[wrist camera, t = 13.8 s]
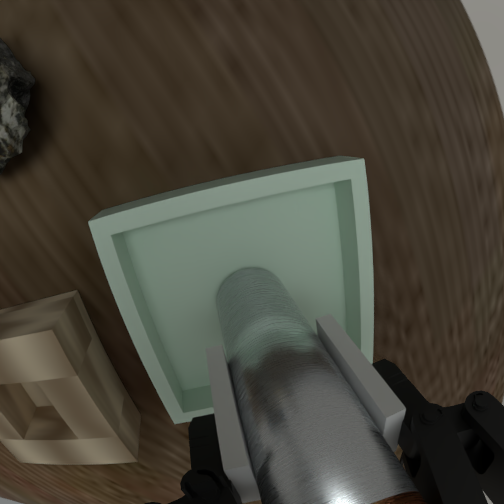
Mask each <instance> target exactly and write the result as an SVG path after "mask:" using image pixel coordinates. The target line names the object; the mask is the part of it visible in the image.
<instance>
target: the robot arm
mask: <svg viewBox="0 0 504 504" xmlns="http://www.w3.org/2000/svg"><path fill="white" fill-rule="evenodd" d="M316 327H317V336H318V338H319V339H320V341H321V342H322V344H323V345H324V347H325V348H326V350H327V351H328V353H329V354H330V356H331V357H332V359H333V360H334V362H335V363H336V365H337V366H338V368H339V369H340V371H341V372H342V374H343V376H344V377H345V379H346V380H347V382H348V383H349V385H350V386H351V388H352V389H353V391H354V392H355V394H356V395H357V397H358V398H359V400H360V401H361V403H362V405H363V406H364V408H365V409H366V411H367V412H368V414H369V415H370V417H371V418H372V420H373V421H374V423H375V424H376V426H377V428H378V429H379V431H380V432H381V434H382V435H383V437H384V438H385V440H386V441H387V443H388V444H389V446H390V448H391V449H392V451H393V452H395V451H396V449H397V445H398V444H399V446H400V447H401V449H402V450H403V452H402V455H401V458H400V463H401V465H403V463H404V466H405V469H406V472H407V474H408V475H409V477H410V479H411V480H412V482H413V483H414V485H415V486H416V488H417V489H418V491H419V493H420V494H421V496H422V497H423V499H424V500H425V502H426V504H488V503H487V500H486V498H485V495H484V493H483V491H484V492H485V494H486V495H487V496H488V497H489V499H490V500H491V501H492V502H493V504H504V406H503V405H502V404H501V403H500V402H499V401H498V400H497V399H496V398H495V397H493V396H492V395H491V394H489V393H488V392H485V391H475V392H473V393H471V394H470V395H469V396H468V397H467V398H466V401H465V403H462V404H458V405H454V406H450V407H441V406H439V405H438V404H433V403H429V402H428V401H427V400H426V399H425V398H424V397H423V396H422V395H421V393H420V392H419V391H418V390H417V389H416V388H415V386H414V385H413V384H412V383H411V382H410V381H409V380H408V379H407V377H406V376H405V375H404V374H403V373H402V372H401V370H400V369H399V368H398V367H397V366H396V365H395V364H394V363H392V362H390V361H388V360H386V359H383V360H381V361H378V362H376V363H373V364H371V363H370V362H369V361H368V359H367V358H366V357H365V356H364V354H363V353H362V352H361V351H360V349H359V348H358V347H357V346H356V344H355V343H354V342H353V341H352V340H351V338H350V337H349V336H348V335H347V333H346V332H345V331H344V330H343V328H342V327H341V326H340V325H339V323H338V322H337V321H336V320H335V319H334V317H333V316H332V315H331V314H328V315H325V316H322V317H319V318H316ZM206 355H207V363H208V371H209V379H210V386H211V393H212V401H213V407H214V413H213V414H208V415H203V416H198V417H193V418H192V421H191V423H190V425H189V428H188V431H189V440H190V441H189V444H190V457H191V468H192V469H191V470H189V471H188V472H187V473H186V474H185V475H184V476H183V478H182V480H181V483H180V484H181V490H182V491H183V493H184V494H185V495H184V496H183V497H182V498H180V499H178V500H175V501H173V502H171V503H168V504H242V502H243V503H246V502H251V501H256V500H260V499H261V498H260V494H259V490H258V487H257V483H256V479H255V475H254V471H253V468H252V464H251V460H250V456H249V452H248V448H247V444H246V440H245V436H244V431H243V427H242V423H241V419H240V415H239V410H238V406H237V402H236V397H235V393H234V388H233V384H232V379H231V375H230V370H229V366H228V362H227V359H226V356H225V353H224V349H223V346H222V345H218V346H213V347H209V348H206ZM241 501H242V502H241ZM145 504H161V503H156V502H150V503H145Z"/></svg>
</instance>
